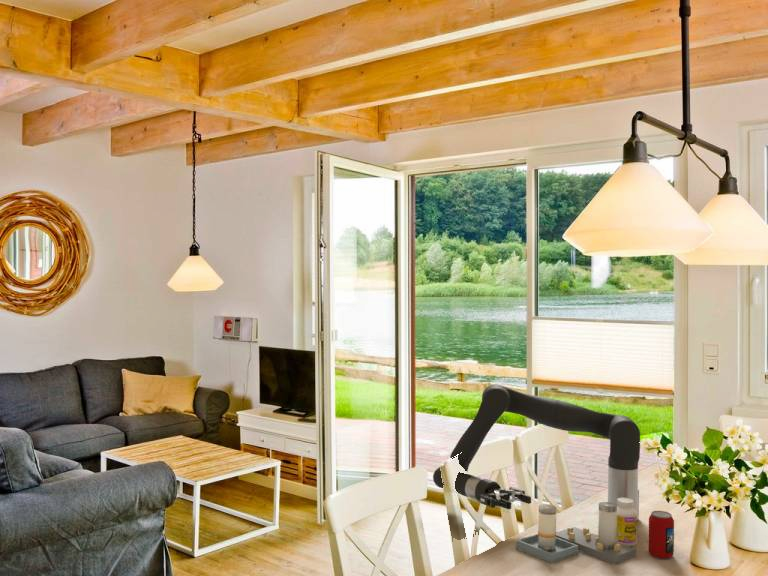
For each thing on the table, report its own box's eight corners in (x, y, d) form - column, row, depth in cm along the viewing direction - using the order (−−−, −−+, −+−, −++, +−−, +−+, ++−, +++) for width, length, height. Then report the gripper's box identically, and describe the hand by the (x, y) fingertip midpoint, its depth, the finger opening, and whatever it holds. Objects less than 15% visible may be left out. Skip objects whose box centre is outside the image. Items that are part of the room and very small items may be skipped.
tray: (542, 540, 219) (542, 532, 219) (578, 554, 208) (578, 545, 208) (516, 548, 212) (516, 540, 212) (551, 563, 201) (551, 554, 201)
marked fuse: (546, 543, 214) (546, 503, 213) (559, 549, 209) (560, 508, 209) (533, 547, 211) (534, 506, 210) (547, 553, 207) (548, 511, 206)
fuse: (605, 541, 212) (605, 500, 212) (620, 547, 208) (620, 505, 208) (594, 545, 209) (595, 504, 209) (609, 551, 205) (609, 508, 205)
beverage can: (675, 561, 203) (676, 518, 203) (650, 559, 205) (650, 516, 204) (671, 552, 210) (671, 510, 210) (646, 550, 211) (647, 509, 211)
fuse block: (573, 533, 225) (573, 521, 225) (635, 555, 207) (636, 543, 207) (552, 540, 219) (552, 528, 219) (614, 564, 201) (614, 551, 201)
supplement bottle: (623, 548, 213) (624, 504, 212) (608, 540, 219) (608, 498, 218) (641, 545, 215) (642, 501, 215) (625, 537, 221) (626, 495, 221)
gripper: (465, 482, 228) (503, 495, 215) (498, 474, 236) (536, 486, 223) (466, 506, 228) (503, 520, 215) (498, 497, 236) (536, 510, 223)
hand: (520, 503), depth 219 cm, fingers open, 8 cm apart
